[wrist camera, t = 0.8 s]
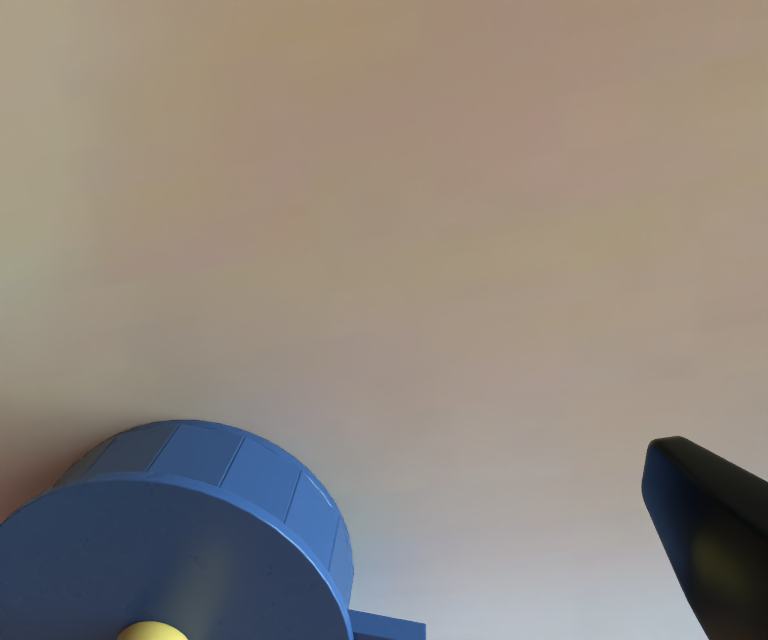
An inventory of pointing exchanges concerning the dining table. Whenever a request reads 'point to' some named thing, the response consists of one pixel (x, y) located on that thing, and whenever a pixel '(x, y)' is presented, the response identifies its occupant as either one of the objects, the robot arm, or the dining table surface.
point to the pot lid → (159, 566)
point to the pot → (248, 493)
